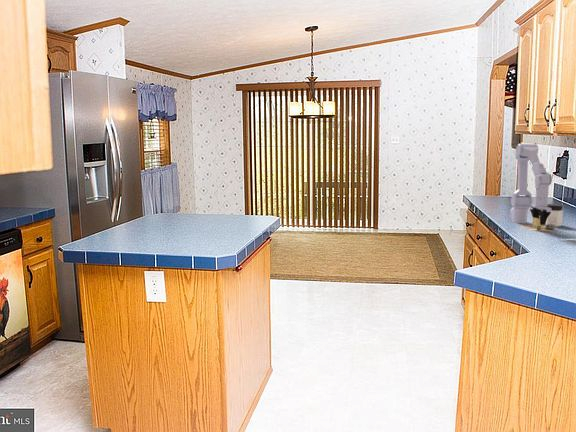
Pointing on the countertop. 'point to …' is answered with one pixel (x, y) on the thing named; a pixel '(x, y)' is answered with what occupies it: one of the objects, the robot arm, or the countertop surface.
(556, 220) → the jar
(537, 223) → the brass gear
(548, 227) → the gear
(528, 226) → the gear board
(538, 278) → the countertop surface
